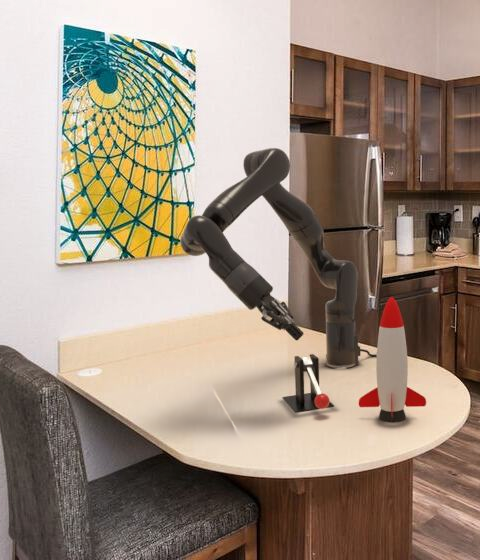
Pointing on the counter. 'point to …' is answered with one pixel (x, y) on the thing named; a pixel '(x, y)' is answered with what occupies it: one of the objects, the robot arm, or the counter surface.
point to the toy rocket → (392, 370)
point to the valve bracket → (302, 400)
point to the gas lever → (315, 385)
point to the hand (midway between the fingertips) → (300, 337)
